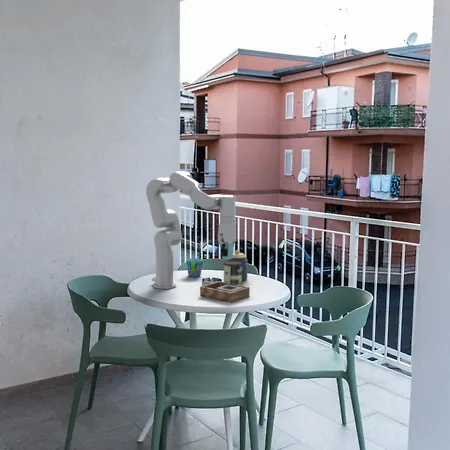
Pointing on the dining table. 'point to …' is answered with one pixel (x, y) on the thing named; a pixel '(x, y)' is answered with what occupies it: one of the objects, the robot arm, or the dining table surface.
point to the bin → (224, 292)
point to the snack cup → (194, 267)
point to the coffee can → (233, 272)
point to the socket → (229, 288)
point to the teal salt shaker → (229, 251)
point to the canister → (242, 258)
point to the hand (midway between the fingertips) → (227, 255)
